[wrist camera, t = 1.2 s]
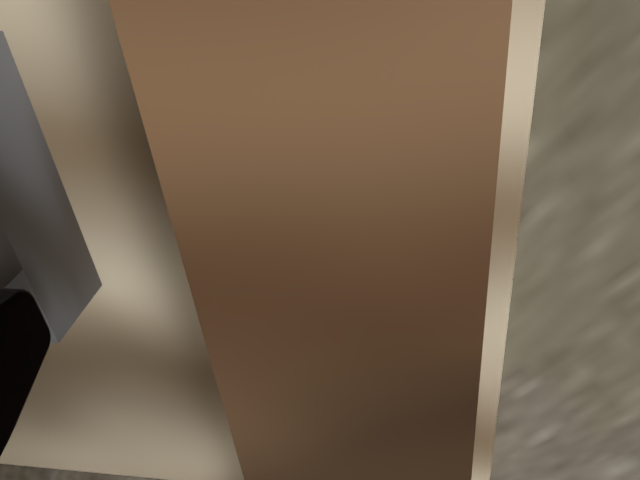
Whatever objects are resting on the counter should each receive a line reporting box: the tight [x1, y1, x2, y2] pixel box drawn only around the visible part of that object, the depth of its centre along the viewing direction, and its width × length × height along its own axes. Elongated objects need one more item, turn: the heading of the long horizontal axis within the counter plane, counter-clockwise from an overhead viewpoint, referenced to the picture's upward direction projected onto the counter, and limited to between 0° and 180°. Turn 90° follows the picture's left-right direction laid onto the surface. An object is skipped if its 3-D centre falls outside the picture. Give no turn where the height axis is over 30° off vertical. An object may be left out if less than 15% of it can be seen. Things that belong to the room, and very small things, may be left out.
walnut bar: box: [108, 0, 513, 480], centre depth 9 cm, size 20×4×4 cm, turn 6°
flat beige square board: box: [0, 0, 545, 480], centre depth 11 cm, size 22×18×5 cm
